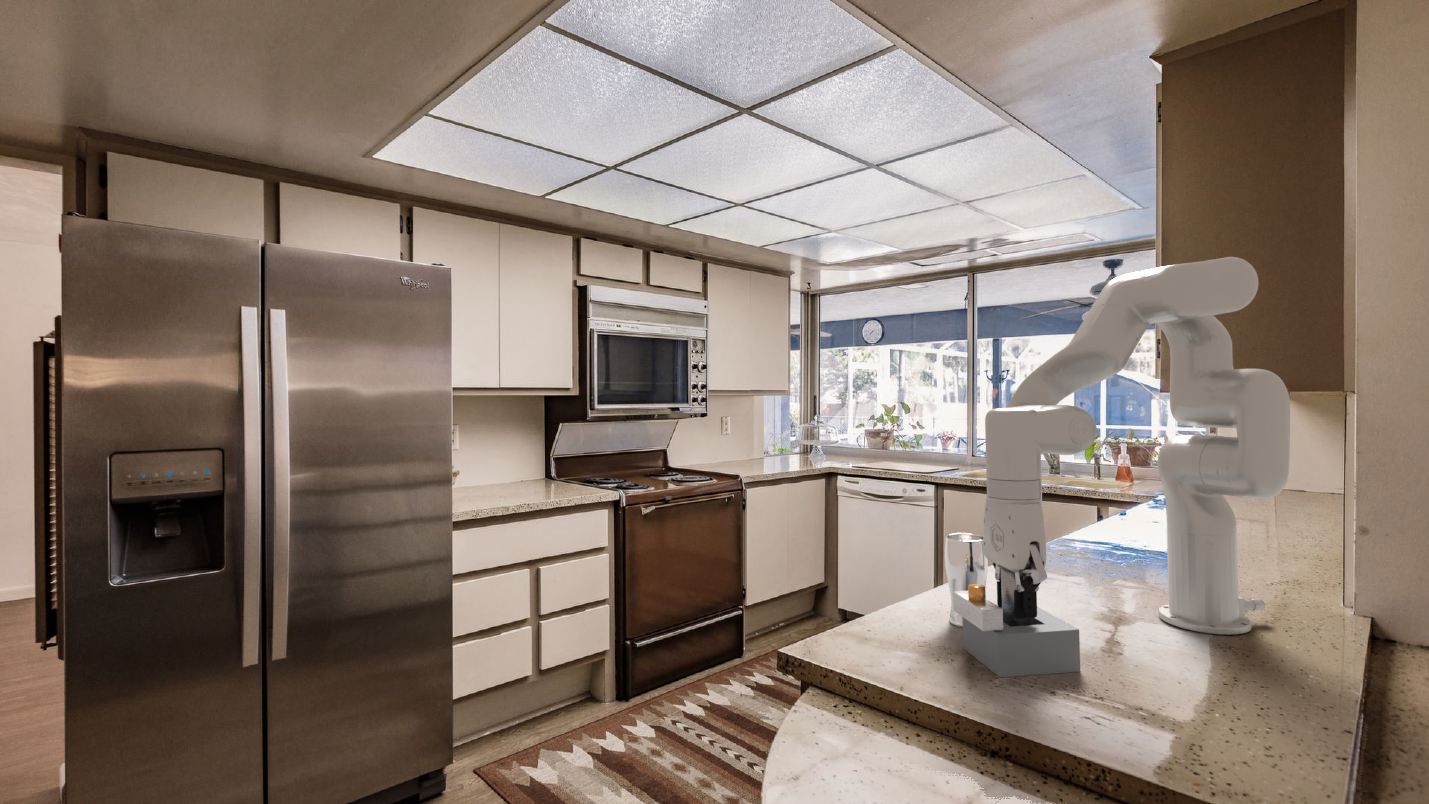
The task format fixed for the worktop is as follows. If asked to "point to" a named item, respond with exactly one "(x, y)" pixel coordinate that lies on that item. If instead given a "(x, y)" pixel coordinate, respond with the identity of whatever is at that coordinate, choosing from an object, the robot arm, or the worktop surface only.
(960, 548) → the beer glass
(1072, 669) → the block
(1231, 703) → the worktop surface
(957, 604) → the bar
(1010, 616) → the grey capped cylinder
